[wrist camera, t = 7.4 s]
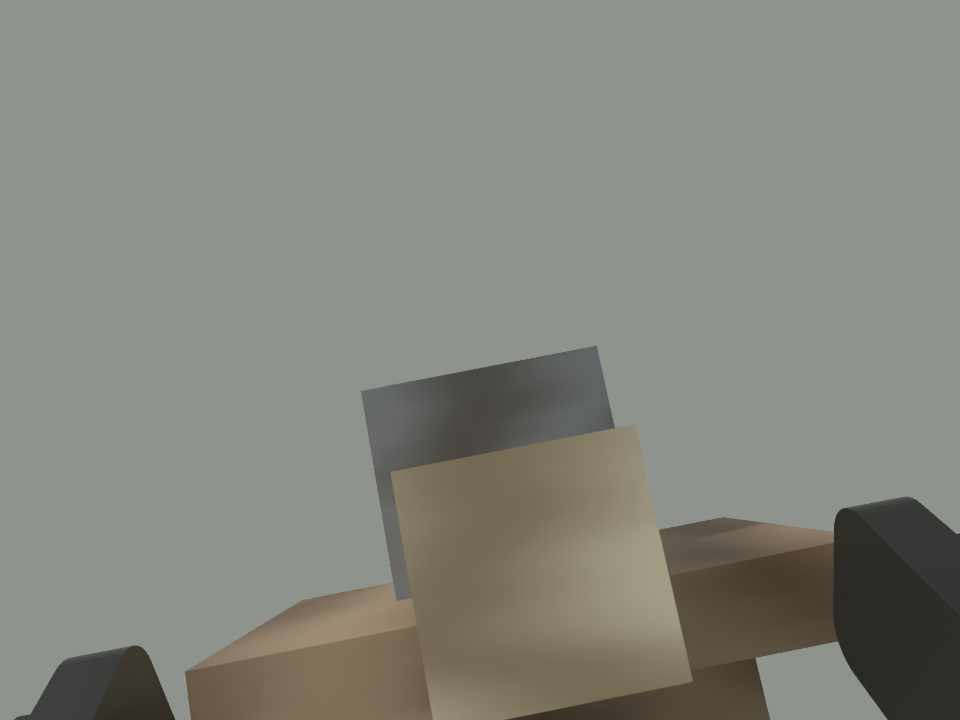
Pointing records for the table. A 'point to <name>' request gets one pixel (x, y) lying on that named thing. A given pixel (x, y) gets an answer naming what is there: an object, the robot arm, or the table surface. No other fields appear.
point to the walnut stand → (641, 716)
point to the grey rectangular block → (523, 538)
